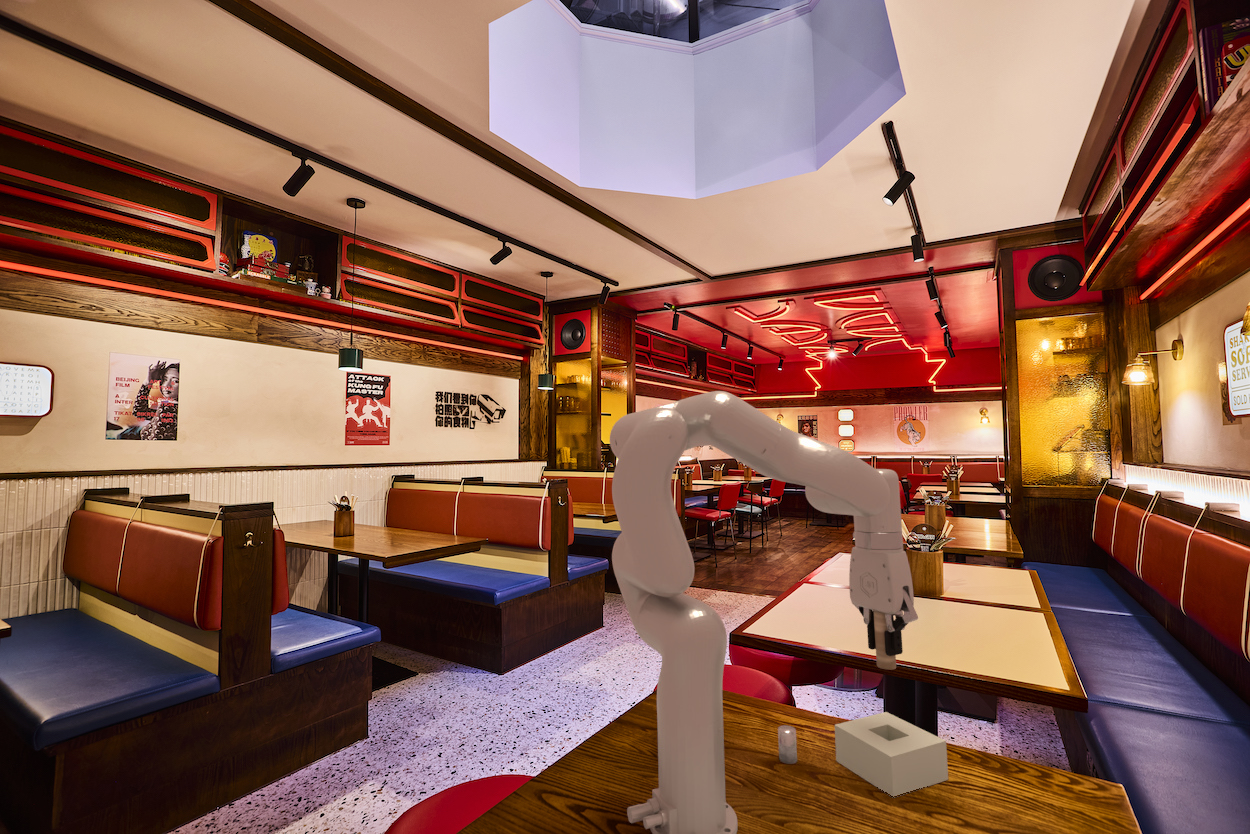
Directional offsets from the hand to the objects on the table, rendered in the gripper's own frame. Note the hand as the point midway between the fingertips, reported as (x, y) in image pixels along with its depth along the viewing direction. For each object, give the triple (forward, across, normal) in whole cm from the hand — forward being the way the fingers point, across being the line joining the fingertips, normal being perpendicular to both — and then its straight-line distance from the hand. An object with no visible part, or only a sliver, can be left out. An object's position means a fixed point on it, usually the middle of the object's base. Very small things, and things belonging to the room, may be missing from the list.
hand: (885, 650), depth 97 cm
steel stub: (+19, -10, -14) cm, 26 cm away
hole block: (+19, 0, 0) cm, 19 cm away
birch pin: (+3, 0, 0) cm, 3 cm away
